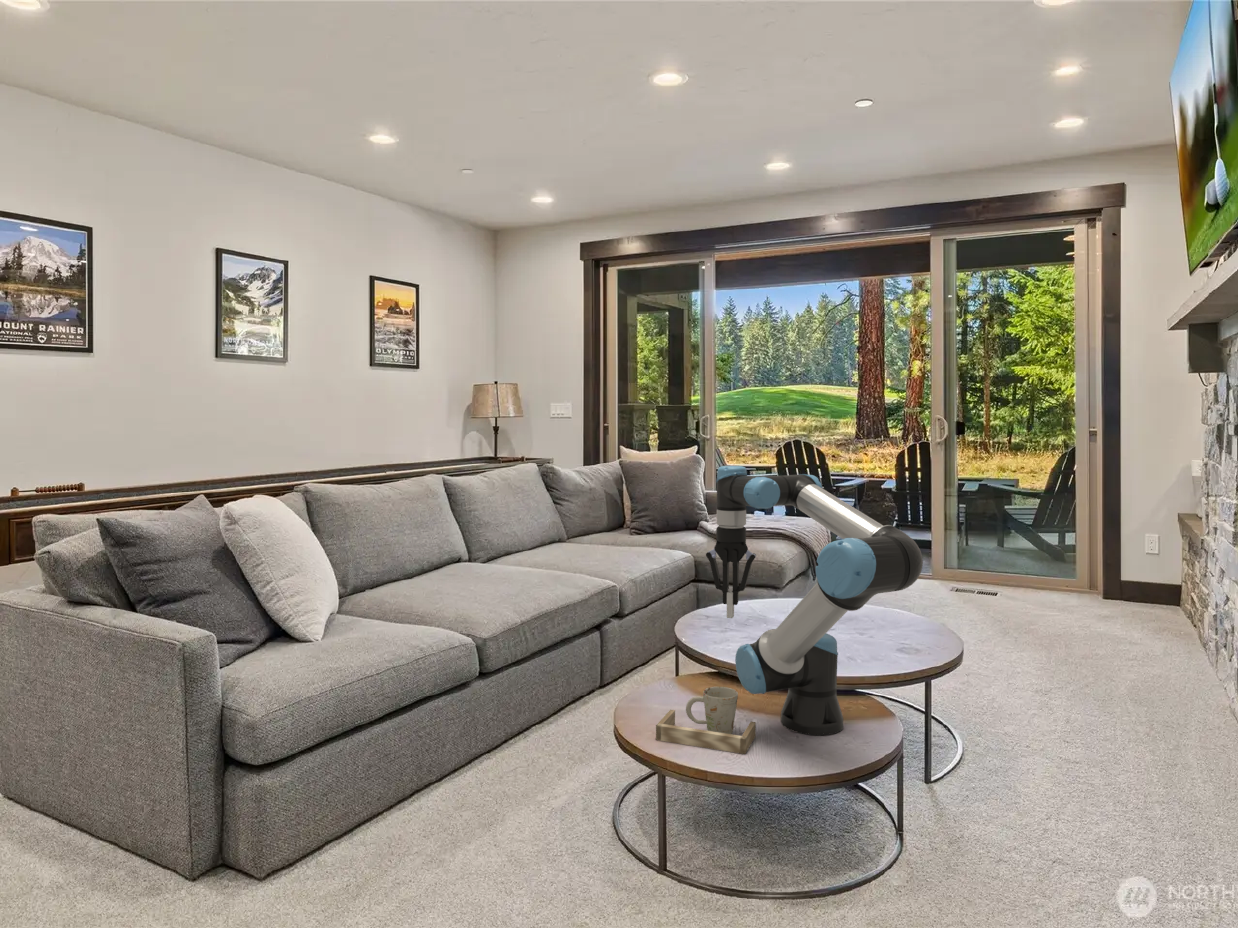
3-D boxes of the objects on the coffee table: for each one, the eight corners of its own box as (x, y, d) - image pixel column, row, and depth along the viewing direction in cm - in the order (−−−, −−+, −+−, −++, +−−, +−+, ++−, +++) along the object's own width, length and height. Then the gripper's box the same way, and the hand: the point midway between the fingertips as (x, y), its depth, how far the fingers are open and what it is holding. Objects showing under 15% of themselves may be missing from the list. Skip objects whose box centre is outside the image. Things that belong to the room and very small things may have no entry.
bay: (755, 736, 194) (755, 721, 194) (745, 754, 184) (745, 739, 184) (670, 723, 202) (670, 709, 202) (655, 739, 192) (656, 725, 191)
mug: (736, 740, 191) (736, 699, 190) (683, 736, 194) (683, 695, 193) (738, 727, 199) (739, 687, 199) (687, 723, 202) (688, 684, 201)
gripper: (758, 525, 210) (757, 615, 211) (708, 523, 213) (708, 611, 215) (754, 529, 202) (753, 622, 204) (703, 526, 206) (702, 618, 208)
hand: (730, 616), depth 209 cm, fingers closed
